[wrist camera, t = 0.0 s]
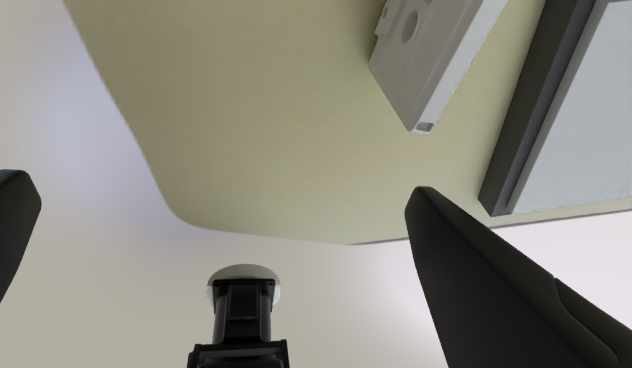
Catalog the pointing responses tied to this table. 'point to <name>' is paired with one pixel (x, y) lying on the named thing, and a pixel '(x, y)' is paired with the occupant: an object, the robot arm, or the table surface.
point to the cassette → (428, 53)
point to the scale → (568, 113)
